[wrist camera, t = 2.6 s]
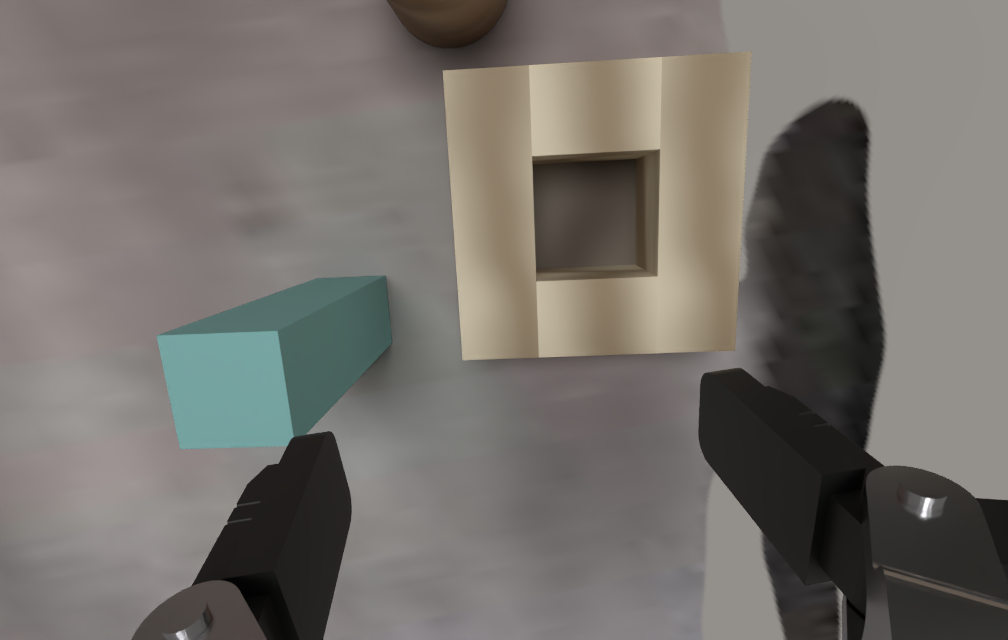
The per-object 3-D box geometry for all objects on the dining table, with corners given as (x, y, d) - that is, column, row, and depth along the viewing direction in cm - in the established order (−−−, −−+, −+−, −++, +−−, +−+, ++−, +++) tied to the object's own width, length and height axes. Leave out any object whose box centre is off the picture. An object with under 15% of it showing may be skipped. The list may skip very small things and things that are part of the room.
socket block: (472, 334, 29) (462, 360, 24) (457, 95, 26) (442, 70, 22) (699, 325, 29) (735, 350, 24) (708, 80, 26) (751, 51, 21)
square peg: (325, 345, 30) (180, 448, 17) (316, 278, 29) (156, 335, 16) (392, 343, 30) (294, 445, 17) (385, 275, 29) (277, 330, 16)
